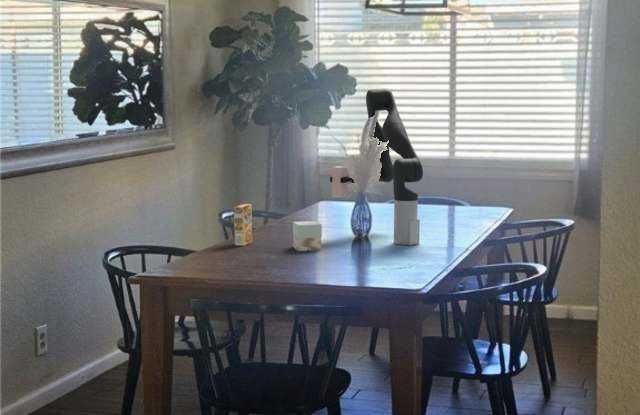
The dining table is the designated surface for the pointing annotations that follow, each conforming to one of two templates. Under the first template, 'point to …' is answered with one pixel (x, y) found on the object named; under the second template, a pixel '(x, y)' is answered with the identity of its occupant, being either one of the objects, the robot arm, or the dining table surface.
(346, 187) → the pillar block
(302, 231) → the tower top
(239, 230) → the candy box
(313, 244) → the tower base
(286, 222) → the dining table surface
